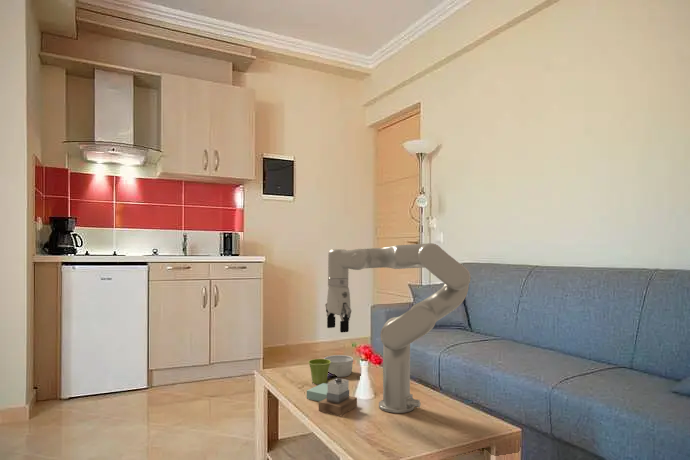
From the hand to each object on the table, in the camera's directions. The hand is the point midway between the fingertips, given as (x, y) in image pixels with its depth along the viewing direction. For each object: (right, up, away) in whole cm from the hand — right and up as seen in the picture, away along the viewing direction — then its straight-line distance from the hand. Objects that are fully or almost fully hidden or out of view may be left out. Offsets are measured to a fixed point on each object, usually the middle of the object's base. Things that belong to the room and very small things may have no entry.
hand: (337, 329), depth 169 cm
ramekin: (0, -28, +37) cm, 47 cm away
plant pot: (-8, -28, +24) cm, 38 cm away
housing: (0, -23, -6) cm, 24 cm away
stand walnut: (0, -26, -6) cm, 27 cm away
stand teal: (-5, -27, +6) cm, 28 cm away
